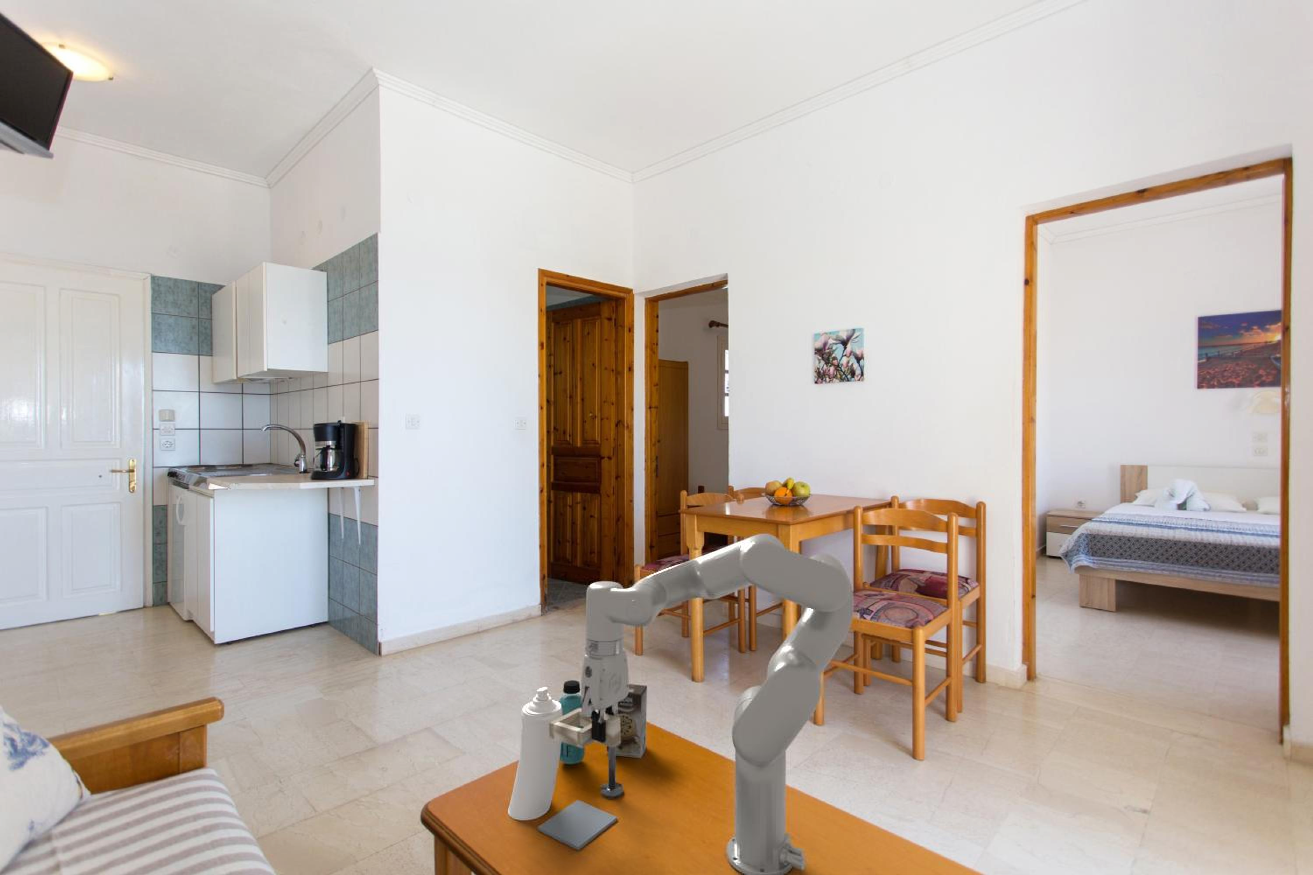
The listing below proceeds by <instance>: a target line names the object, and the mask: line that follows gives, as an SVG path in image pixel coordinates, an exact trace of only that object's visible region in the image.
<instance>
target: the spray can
mask: <svg viewBox="0 0 1313 875" xmlns="http://www.w3.org/2000/svg"><path fill="white" fill-rule="evenodd" d="M521 710H522V711H521V713H520V714H521V725H520V726H521V727H520V728H521V730H520V731H521V732H520V748H519V759H518V763H517V768H516V773H515V779H514V782H513V787H512V793H511V798H510V802H509V806H508V809H507V813H508V816H509V817H510V818H512V819H514V820H517V821H530V820H534V819H538V818H540V817H542V816H544V815H545V814H547V813H548V811H549V810H550V809H551V808H550V807H551V804H552V799H553V795H554V792H555V786H556V781H557V780H556V779H557V774H558V771H559V764H560V750H561V741H558V740H555V739H552V738H549V723H550V722H552V721H554V720H556V719H558V718H560V717H562V716H563V715H562V708H561V704H560V703H559V701H557V700H554V699H553V698H552V696H550V694H549V693H548V687H541V688H538V689H537V690H536V695H535V696H534V697H533V699H532V701H531V702H528V703H526V704H525V705H523V707H522V709H521Z"/></svg>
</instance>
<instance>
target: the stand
mask: <svg viewBox="0 0 1313 875" xmlns="http://www.w3.org/2000/svg"><path fill="white" fill-rule="evenodd" d="M616 716H617V717H618V714H617V715H616ZM616 758H617V755H616V746H615V747H614V748H612V747H609V754H608V782H606V783H603V784H602V785H601V787H600V795H601V796H602V797H603V798H605V799H618V798H619V797H622V796H623V794H624V785H623V784H622V783H620V782H617V779H616V776H617V774H616V772H617V767H616V766H617V765H616V764H617V763H616V762H617V760H616Z"/></svg>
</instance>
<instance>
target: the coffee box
mask: <svg viewBox="0 0 1313 875" xmlns="http://www.w3.org/2000/svg"><path fill="white" fill-rule="evenodd" d="M647 696H648V685H645V684H644V685H642V684H633V683H629V692H628V695H627V697H626V698H624V699H623V700H621V701H620V704H619V706H618V717H620V729H621V743H620V744H619V745H617V746H616V757H617V756H618V757H619V756H620V757H626V758H627V757H628V758H635V759H641V758H642V757H643V754H644V753H645V751H646V749H647V703H648V702H647V701H648V700H647V699H648V698H647ZM606 754H607V755H609V746H606Z"/></svg>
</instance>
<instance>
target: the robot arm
mask: <svg viewBox="0 0 1313 875" xmlns="http://www.w3.org/2000/svg"><path fill="white" fill-rule="evenodd" d="M750 586H754V587H756V588H758V589H760V590H762V591H765V592H766V593H769V594H772V595H774V596H777V597H778V598H782V599H784V600H787V601H789V602H792V603H794V604H796V605H800V606H802V607H805V609H804V611H803V613H802V615H801V616H800V618H799V620H798V621H797V623H796V624H795V626H794V627H793V629H792V631H790V633H789V634H788V635H787V637H786V638H785V639H784V641H783V642H782V644H781V645H780V646H779V647H778V649H777V650H776V651H775V653H774V654H773V655H772V656H771V657H770V660H769V662H768V665H767V671H766V672H767V673H766V679H765V681H764V682H763V683H762V685H754V686H751V687H749V688H747V689H746V690H745V691H743V692H742V693H741V694H740V696H739V697H738V699H737V702H736V704H735V709H734V714H733V722H732V723H733V724H732V728H731V738H732V744H733V747H734V750H735V752H734V757H735V758H734V836H732V838H730V840H729V841H728V842H727V844H726V858H727V861H728V862H729V864H730V865H731V866H732V867H733V868H734V869H735V870H736V871H738V872H739V873H742V874H744V875H785V874H787V873H788V872H789V871H790V870H791V869H792V868H793V867H794V868H796V869H798V870H800V871H803V870H805V868H806V863H807V862H806V858H805V857H804V855H805V851H804V849H801V848H798V847H795V846H793V844H791V834H788V833H786V786H787V785H786V780H787V778H786V777H787V772H786V771H787V770H786V769H787V760H786V758H787V756H786V754H787V749H788V748H789V747H790V745H791V744H792V743H793V741H794V740H795V739H796V737H797V736H798V734H800V732H801V731H802V730H803V728H804V727H805V725H806V724H807V723H808V721H809V720H810V718H811V717H812V716H813V714H814V712H815V711H816V709H817V708H818V705H819V703H820V699H821V697H822V696H821V695H822V680H821V678H822V675H823V672H824V671H825V669H826V668H827V666H828V664H829V663H830V662H831V660H832V659H833V658H834V656H835V654H836V653H837V651H838V650H839V648H840V647H841V645H842V644H843V642H844V640H845V639H846V637H847V635H848V634H849V632H850V631H849V630H850V629H851V626H852V622H853V617H854V611H855V610H854V608H855V607H854V606H855V605H854V604H855V602H854V591H853V586H852V583H851V580H850V578H849V575H848V573H847V572H846V570H845V568H844V566H843V564H842V563H841V562H840V560H838V559H837V558H836V557H834V556H833V555H830V554H827V553H817V554H814V555H811V556H806V555H803V554H800V553H798V552H796V551H794V550H791V549H788V548H786V547H785V546H784V544H783V543H782V541H781V540H780V539H779V538H778V537H777V536H775V535H773V534H770V533H758V534H755V535H752V536H750V537H749V536H748V537H747V538H745V539H741V540H739V541H737V542H734V543H732V544H729V545H727V546H724V547H722V548H719V549H717V550H714V551H712V552H709V553H706V554H703V555H701V556H699V557H696V558H692V559H690V560H688V561H685V562H682V563H680V564H676V565H674V566H673V565H672V566H671V567H668V568H665V569H663V570H661V571H658V572H655V573H653V574H650V575H648V576H645V577H643V578H640V580H638V581H637V582H635V583H634V584H633V585H632V586H630V587H628V588H624V587H623V585H621V584H620V583H619V582H615V581H606V580H602V581H596V582H593V583H591V584H590V585H588V587H587V589H586V594H585V596H586V598H585V599H586V600H585V601H586V602H585V605H586V606H585V608H586V610H585V647H584V651H585V654H584V657H583V664H582V672H581V681H580V682H581V685H580V695H581V702H582V705H583V706H582V709H581V715H584V716H587V717H589V719H590V720H592V739H593V740H596V741H599V742H601V743H604V742H605V741H606V722H604V713H605V714H609V715H613V716H616V715H617V714H618V706H619V704H620V701H621V700H623V699H624V698H626V697H627V695H628V692H629V684H630V683H629V681H630V680H629V677H630V676H629V664H628V658H627V653H626V649H625V648H624V638H625V637H624V628H625V627H624V625H626V626H631V627H635V628H642V627H647V626H649V625H651V624H652V623H653V622H655V619H656V618H657V617H658V615H659V614H660V613H661V611H663V610H665V609H667V608H669V607H672V606H675V605H677V604H680V603H683V602H686V601H690V600H693V599H700V598H701V599H705V600H706V599H707V600H716V599H719V598H722V597H724V596H728V595H731V594H733V593H735V592H737V591H739V590H743V589H745V588H747V587H750Z"/></svg>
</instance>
